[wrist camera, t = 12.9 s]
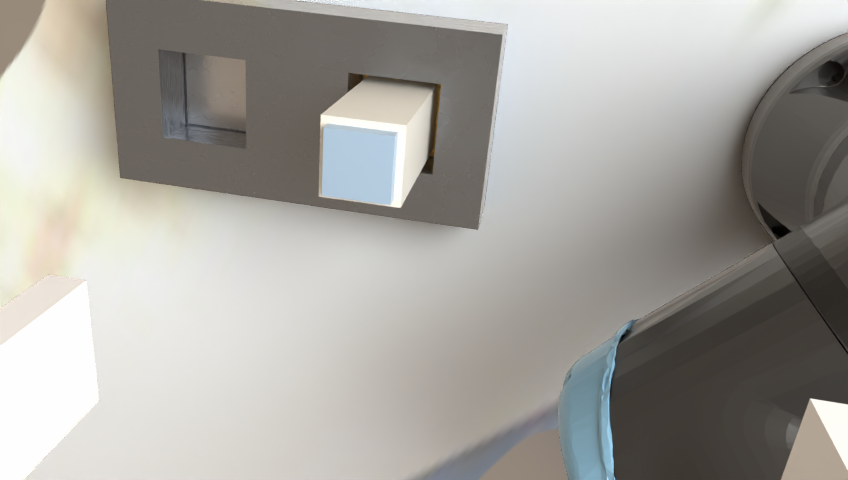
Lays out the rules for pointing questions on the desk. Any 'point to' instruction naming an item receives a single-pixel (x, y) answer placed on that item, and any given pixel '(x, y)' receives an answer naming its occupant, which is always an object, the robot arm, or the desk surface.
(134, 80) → the panel block
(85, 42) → the desk surface
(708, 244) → the desk surface
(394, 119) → the plug
